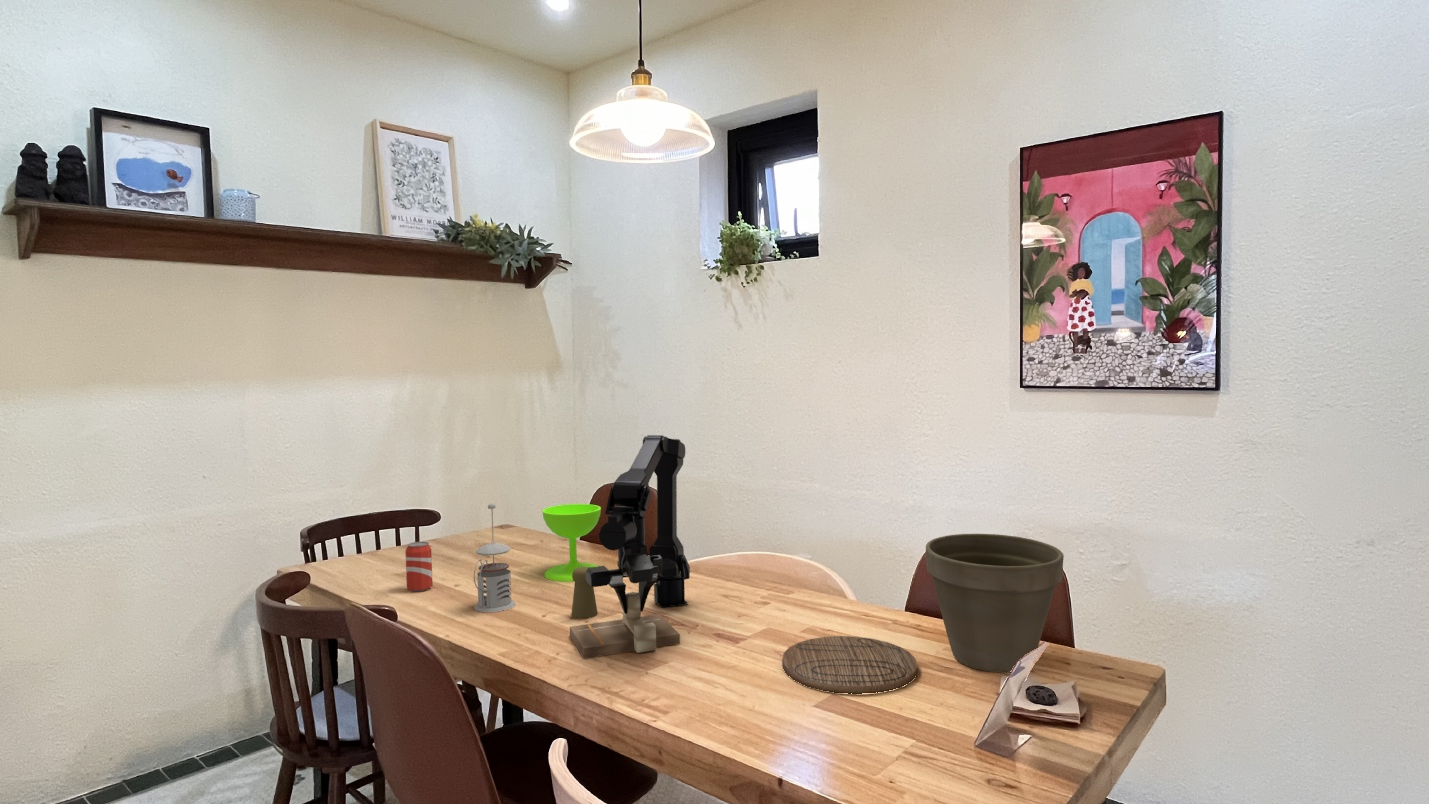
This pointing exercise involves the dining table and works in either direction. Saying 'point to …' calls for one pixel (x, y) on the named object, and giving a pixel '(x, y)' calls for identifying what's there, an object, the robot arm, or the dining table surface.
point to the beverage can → (418, 566)
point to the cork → (583, 596)
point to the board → (618, 636)
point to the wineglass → (570, 533)
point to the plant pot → (993, 595)
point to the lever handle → (639, 625)
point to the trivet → (849, 664)
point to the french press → (493, 578)
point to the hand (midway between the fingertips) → (633, 612)
